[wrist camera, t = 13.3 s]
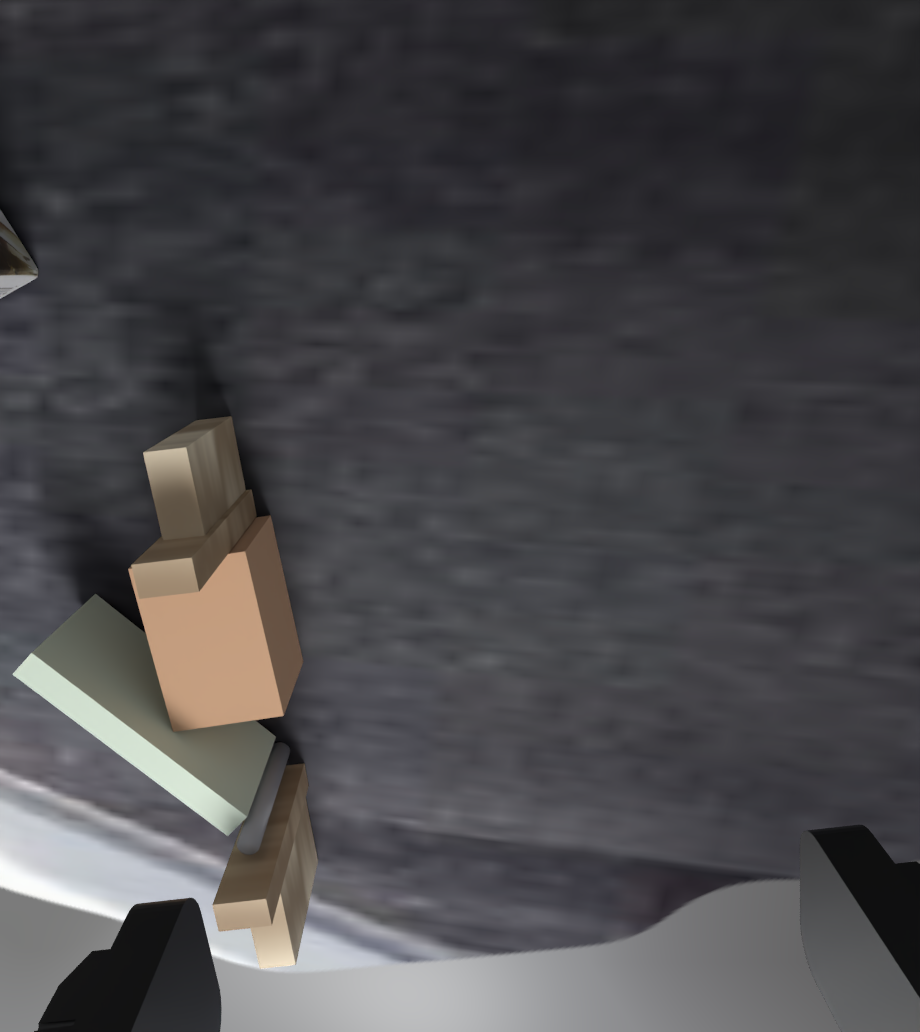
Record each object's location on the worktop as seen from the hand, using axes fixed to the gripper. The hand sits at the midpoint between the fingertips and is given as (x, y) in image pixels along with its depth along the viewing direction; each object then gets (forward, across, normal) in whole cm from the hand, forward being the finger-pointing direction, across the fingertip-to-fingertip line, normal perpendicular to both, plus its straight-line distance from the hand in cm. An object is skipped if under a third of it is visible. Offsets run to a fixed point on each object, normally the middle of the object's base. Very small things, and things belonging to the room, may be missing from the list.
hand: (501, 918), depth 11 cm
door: (+26, +14, +9) cm, 31 cm away
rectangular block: (+26, +10, +4) cm, 29 cm away
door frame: (+26, +10, +7) cm, 29 cm away
